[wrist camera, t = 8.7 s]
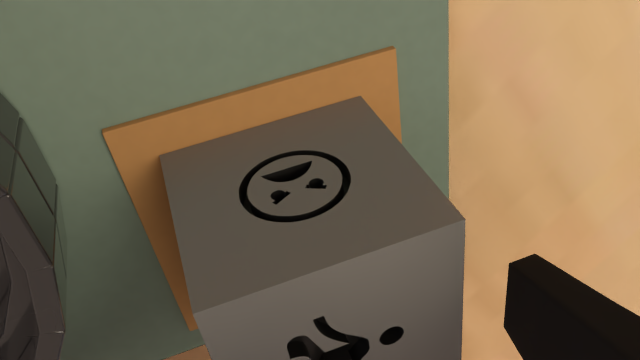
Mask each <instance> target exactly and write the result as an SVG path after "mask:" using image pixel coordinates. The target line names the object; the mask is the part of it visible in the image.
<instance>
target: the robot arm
mask: <svg viewBox="0 0 640 360" xmlns="http://www.w3.org/2000/svg"><path fill="white" fill-rule="evenodd" d="M504 328H505V330H506V331H507V333H508V335H509V336H510V338H511V340H512V341H513V343H514V345H515V347H516V348H517V350H518V352H519V353H520V355H521V356H522V358H523V360H640V316H638V315H636V314H635V313H633V312H631V311H629V310H628V309H626V308H624V307H622V306H621V305H619V304H617V303H615V302H614V301H612V300H610V299H609V298H607V297H605V296H604V295H602V294H600V293H599V292H597V291H595V290H594V289H592V288H591V287H589V286H587V285H586V284H584V283H582V282H581V281H579V280H577V279H576V278H574V277H573V276H571V275H569V274H568V273H566V272H564V271H563V270H561V269H560V268H558V267H556V266H555V265H553V264H551V263H550V262H548V261H546V260H545V259H543V258H541V257H540V256H538V255H536V254H533V255H530V256H528V257H525V258H522V259H520V260H517V261H514V262H512V263H509V270H508V282H507V294H506V305H505V317H504Z"/></svg>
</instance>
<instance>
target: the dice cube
mask: <svg viewBox="0 0 640 360" xmlns="http://www.w3.org/2000/svg"><path fill="white" fill-rule="evenodd" d="M159 157H160V161H161V166H162V171H163V176H164V180H165V185H166V190H167V195H168V199H169V204H170V209H171V214H172V218H173V223H174V228H175V233H176V237H177V242H178V247H179V252H180V256H181V261H182V266H183V271H184V275H185V280H186V285H187V290H188V294H189V299H190V304H191V309H192V313H193V316H194V319H195V321H196V323H197V326H198V328H199V330H200V333H201V335H202V338H203V340H204V342H205V345H206V347H207V350H208V352H209V354H210V357H211V359H212V360H461V350H462V315H463V281H464V247H465V218H464V217H463V216H462V215H461V214H460V212H459V211H458V210H457V209H456V208H455V207H454V205H453V204H452V203H451V202H450V201H449V199H448V198H447V197H446V196H445V195H444V194H443V192H442V191H441V190H440V189H439V188H438V186H437V185H436V184H435V183H434V182H433V181H432V179H431V178H430V177H429V176H428V175H427V173H426V172H425V171H424V170H423V169H422V168H421V166H420V165H419V164H418V163H417V162H416V161H415V159H414V158H413V157H412V156H411V155H410V153H409V152H408V151H407V150H406V149H405V148H404V146H403V145H402V144H401V143H400V142H399V140H398V139H397V138H396V137H395V136H394V135H393V133H392V132H391V131H390V130H389V129H388V127H387V126H386V125H385V124H384V123H383V122H382V120H381V119H380V118H379V117H378V116H377V114H376V113H375V112H374V111H373V110H372V109H371V107H370V106H369V105H368V104H367V103H366V102H365V100H364V99H363V98H362V97H361V96H358V97H354V98H351V99H348V100H344V101H341V102H338V103H334V104H331V105H327V106H324V107H321V108H317V109H314V110H310V111H307V112H304V113H300V114H297V115H294V116H290V117H287V118H283V119H280V120H277V121H273V122H270V123H267V124H263V125H260V126H256V127H253V128H250V129H246V130H243V131H239V132H236V133H233V134H229V135H226V136H223V137H219V138H216V139H212V140H209V141H206V142H202V143H199V144H196V145H192V146H189V147H185V148H182V149H179V150H175V151H172V152H168V153H165V154H162V155H159Z"/></svg>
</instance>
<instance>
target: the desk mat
mask: <svg viewBox="0 0 640 360" xmlns="http://www.w3.org/2000/svg"><path fill="white" fill-rule="evenodd" d="M0 93H1V94H2V95H3V96H4V97H5V98H6V99H7V100H8V101H9V103H10V104H11V105H12V106H13V107H14V108H15V109H16V110H17V111H18V112H19V114H20V117H22V118H23V119H24V121H25V122H26V124H27V126H28V128H29V130H30V132H31V134H32V136H33V137H34V139H35V141H36V143H37V145H38V147H39V149H40V151H41V152H42V154H43V156H44V158H45V160H46V162H47V164H48V166H49V167H50V169H51V171H52V173H53V175H54V177H55V179H56V184H57V185H58V187H59V193H60V199H61V206H62V212H63V218H64V224H65V230H66V236H67V294H66V333H65V337H64V342H63V346H62V351H61V355H60V360H163V359H166V358H168V357H171V356H174V355H177V354H179V353H182V352H185V351H188V350H190V349H193V348H196V347H199V346H202V345H204V344H205V342H204V340H203V338H202V335H201V333H200V330H199V328H198V326H197V323H196V321H195V319H194V316H193V313H192V309H191V304H190V299H189V294H188V290H187V285H186V280H185V275H184V271H183V266H182V261H181V256H180V252H179V247H178V242H177V237H176V233H175V228H174V223H173V218H172V214H171V209H170V204H169V199H168V195H167V190H166V185H165V180H164V176H163V171H162V166H161V161H160V157H159V155H162V154H165V153H168V152H172V151H175V150H179V149H182V148H185V147H189V146H192V145H196V144H199V143H202V142H206V141H209V140H212V139H216V138H219V137H223V136H226V135H229V134H233V133H236V132H239V131H243V130H246V129H250V128H253V127H256V126H260V125H263V124H267V123H270V122H273V121H277V120H280V119H283V118H287V117H290V116H294V115H297V114H300V113H304V112H307V111H310V110H314V109H317V108H321V107H324V106H327V105H331V104H334V103H338V102H341V101H344V100H348V99H351V98H354V97H358V96H361V97H362V98H363V99H364V100H365V102H366V103H367V104H368V105H369V106H370V107H371V109H372V110H373V111H374V112H375V113H376V114H377V116H378V117H379V118H380V119H381V120H382V122H383V123H384V124H385V125H386V126H387V127H388V129H389V130H390V131H391V132H392V133H393V135H394V136H395V137H396V138H397V139H398V140H399V142H400V143H401V144H402V145H403V146H404V148H405V149H406V150H407V151H408V152H409V153H410V155H411V156H412V157H413V158H414V159H415V161H416V162H417V163H418V164H419V165H420V166H421V168H422V169H423V170H424V171H425V172H426V173H427V175H428V176H429V177H430V178H431V179H432V181H433V182H434V183H435V184H436V185H437V186H438V188H439V189H440V190H441V191H442V192H443V194H444V195H445V196H446V197H447V198H448V199H449V85H448V0H0Z"/></svg>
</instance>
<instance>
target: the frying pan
mask: <svg viewBox="0 0 640 360" xmlns="http://www.w3.org/2000/svg"><path fill="white" fill-rule="evenodd" d="M66 294H67V236H66V230H65V224H64V218H63V212H62V206H61V199H60V193H59V187H58V185H57V184H56V179H55V177H54V175H53V173H52V171H51V169H50V167H49V166H48V164H47V162H46V160H45V158H44V156H43V154H42V152H41V151H40V149H39V147H38V145H37V143H36V141H35V139H34V137H33V136H32V134H31V132H30V130H29V128H28V126H27V124H26V122H25V121H24V119H23V118H22V117H20V114H19V112H18V111H17V110H16V109H15V108H14V107H13V106H12V105H11V104H10V103H9V101H8V100H7V99H6V98H5V97H4V96H3V95H2V94H1V93H0V360H60V355H61V351H62V346H63V342H64V337H65V333H66Z"/></svg>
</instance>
